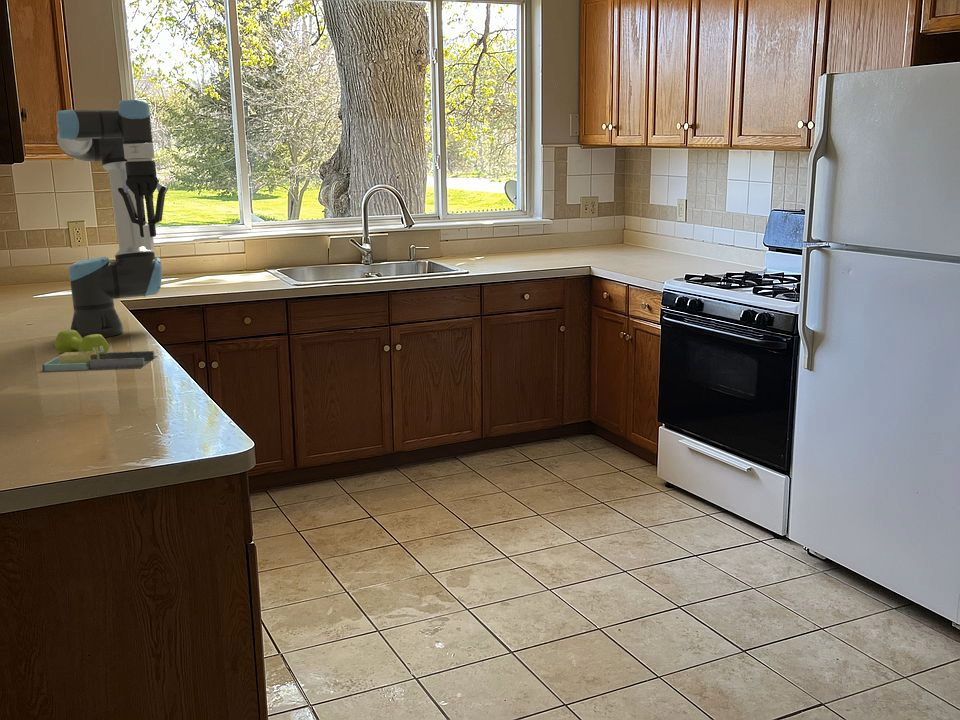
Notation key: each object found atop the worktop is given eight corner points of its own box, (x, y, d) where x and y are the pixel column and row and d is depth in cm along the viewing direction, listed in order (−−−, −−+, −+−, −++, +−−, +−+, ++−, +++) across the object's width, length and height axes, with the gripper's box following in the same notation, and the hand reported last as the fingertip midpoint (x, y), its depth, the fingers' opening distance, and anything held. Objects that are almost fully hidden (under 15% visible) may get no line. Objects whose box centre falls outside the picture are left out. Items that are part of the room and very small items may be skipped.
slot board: (105, 363, 246) (104, 350, 245) (158, 361, 246) (157, 348, 246) (85, 376, 233) (83, 362, 232) (141, 374, 233) (139, 360, 232)
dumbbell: (53, 357, 256) (50, 332, 255) (80, 352, 262) (77, 327, 261) (85, 364, 247) (82, 338, 245) (113, 358, 253) (109, 333, 251)
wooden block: (67, 367, 241) (65, 352, 240) (82, 366, 241) (80, 351, 240) (60, 370, 237) (58, 355, 236) (76, 370, 237) (74, 355, 236)
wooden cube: (82, 366, 241) (80, 351, 240) (98, 366, 241) (96, 351, 240) (76, 370, 237) (74, 355, 237) (92, 369, 238) (90, 354, 237)
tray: (62, 366, 245) (60, 355, 244) (103, 364, 245) (102, 353, 244) (43, 376, 234) (41, 365, 233) (87, 375, 234) (85, 363, 233)
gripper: (109, 161, 241) (120, 251, 247) (159, 159, 241) (169, 250, 247) (120, 160, 249) (130, 248, 254) (168, 159, 249) (178, 246, 254)
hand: (149, 249), depth 251 cm, fingers closed
